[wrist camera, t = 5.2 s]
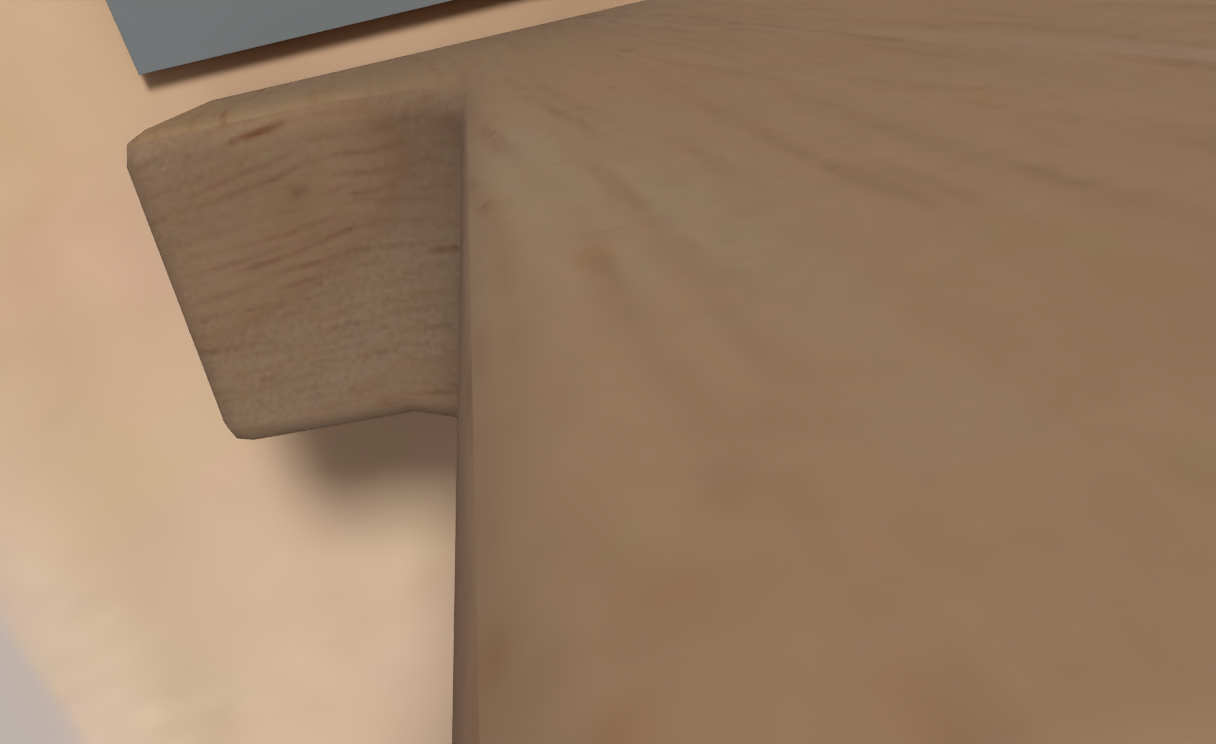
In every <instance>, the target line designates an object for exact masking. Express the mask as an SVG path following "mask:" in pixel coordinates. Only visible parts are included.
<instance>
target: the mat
mask: <svg viewBox="0 0 1216 744" xmlns="http://www.w3.org/2000/svg"><path fill="white" fill-rule="evenodd" d="M447 1H451V0H106V2H107V4H108V6H109V8H110V11H111V13H112V15H113V17H114V20H115V22H116V24H117V26H118V29H119V31H120V33H121V35H122V38H123V40H124V42H125V44H126V47H127V49H128V51H129V53H130V56H131V58H132V60H133V62H134V65H135V67H136V69H137V71H138V74H139V75H141V74H145V73H149V72H153V71H158V70H162V69H166V68H170V67H174V66H178V65H183V64H187V63H191V62H195V61H199V60H204V59H208V58H212V57H216V56H220V55H225V54H229V53H233V52H237V51H241V50H246V49H250V48H254V47H258V46H262V45H267V44H271V43H275V42H279V41H283V40H288V39H292V38H296V37H300V36H304V35H309V34H313V33H317V32H321V31H325V30H330V29H334V28H338V27H342V26H346V25H350V24H355V23H359V22H363V21H367V20H371V19H376V18H380V17H384V16H388V15H392V14H397V13H401V12H405V11H409V10H413V9H418V8H422V7H426V6H430V5H434V4H439V3H443V2H447Z"/></svg>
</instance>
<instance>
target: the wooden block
mask: <svg viewBox="0 0 1216 744" xmlns="http://www.w3.org/2000/svg"><path fill="white" fill-rule="evenodd" d="M127 169H128V171H129V174H130V176H131V179H132V182H133V184H134V187H135V190H136V192H137V195H138V197H139V200H140V203H141V205H142V208H143V210H144V213H145V216H146V218H147V221H148V224H149V226H150V229H151V231H152V234H153V237H154V239H155V242H156V245H157V247H158V250H159V252H160V255H161V258H162V260H163V263H164V265H165V268H166V271H167V273H168V276H169V279H170V281H171V284H172V286H173V289H174V292H175V294H176V297H177V300H178V302H179V305H180V307H181V310H182V313H183V315H184V318H185V320H186V323H187V326H188V328H189V331H190V334H191V336H192V339H193V341H194V344H195V347H196V349H197V352H198V355H199V357H200V360H201V362H202V365H203V368H204V370H205V373H206V375H207V378H208V381H209V383H210V386H211V389H212V391H213V394H214V396H215V399H216V402H217V404H218V407H219V409H220V412H221V415H222V417H223V420H224V422H225V424H226V425H227V427H228V428H229V429H230V431H231V432H232V433H233V434H234V435H235V436H236V438H239V439H252V440H254V439H261V438H266V437H272V436H277V435H283V434H289V433H294V432H300V431H305V430H311V429H317V428H322V427H328V426H333V425H339V424H344V423H350V422H356V421H361V420H367V419H372V418H378V417H384V416H389V415H395V414H400V413H406V412H411V411H420V412H426V413H433V414H440V415H447V416H453V417H457V479H456V541H455V603H454V665H453V726H452V744H1216V0H645V1H641V2H637V3H632V4H628V5H624V6H619V7H615V8H611V9H606V10H602V11H598V12H593V13H589V14H585V15H580V16H576V17H572V18H567V19H563V20H559V21H554V22H550V23H546V24H541V25H537V26H533V27H528V28H524V29H520V30H515V31H511V32H507V33H502V34H498V35H494V36H489V37H485V38H481V39H476V40H472V41H468V42H463V43H459V44H455V45H450V46H446V47H442V48H437V49H433V50H429V51H424V52H420V53H416V54H411V55H407V56H403V57H398V58H394V59H390V60H386V61H381V62H377V63H373V64H368V65H364V66H360V67H355V68H351V69H347V70H342V71H338V72H334V73H329V74H325V75H321V76H316V77H312V78H308V79H303V80H299V81H295V82H290V83H286V84H282V85H277V86H273V87H269V88H264V89H260V90H256V91H251V92H247V93H243V94H238V95H234V96H230V97H225V98H221V99H217V100H212V101H209V102H207V103H205V104H203V105H200V106H198V107H196V108H194V109H191V110H189V111H187V112H185V113H182V114H180V115H178V116H176V117H173V118H171V119H169V120H167V121H164V122H162V123H160V124H158V125H155V126H153V127H151V128H149V129H146V130H144V131H143V132H142V133H141V134H139V135H138V136H137V137H135V138H134V139H133V140H132V141H130V142H129V143H128V144H127Z"/></svg>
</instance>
